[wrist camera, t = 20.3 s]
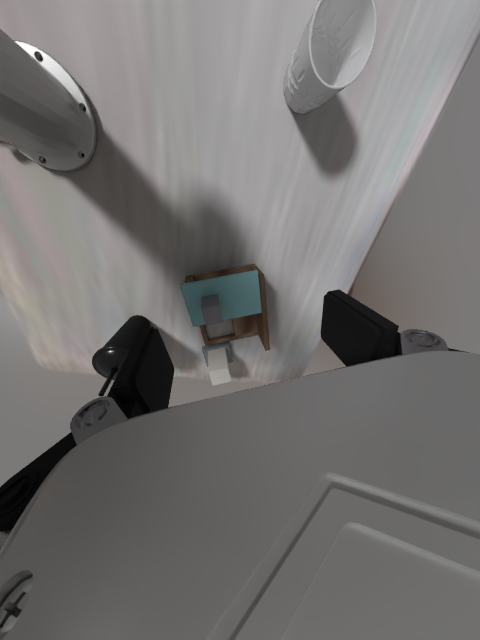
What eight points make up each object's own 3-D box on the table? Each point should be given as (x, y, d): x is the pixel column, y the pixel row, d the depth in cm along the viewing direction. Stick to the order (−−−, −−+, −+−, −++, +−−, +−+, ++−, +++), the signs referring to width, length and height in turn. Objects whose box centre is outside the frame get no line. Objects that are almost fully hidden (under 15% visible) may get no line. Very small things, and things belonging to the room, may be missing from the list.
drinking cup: (123, 305, 43) (70, 371, 26) (159, 314, 45) (133, 380, 28) (118, 333, 46) (69, 408, 29) (153, 340, 49) (126, 414, 32)
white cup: (324, 118, 33) (367, 87, 24) (278, 121, 32) (306, 90, 24) (331, 43, 29) (385, -25, 20) (279, 45, 28) (312, -25, 20)
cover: (193, 323, 39) (191, 341, 34) (180, 284, 35) (177, 297, 30) (260, 310, 40) (268, 325, 35) (256, 269, 36) (265, 280, 30)
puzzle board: (205, 342, 51) (205, 363, 45) (186, 276, 42) (182, 290, 35) (261, 331, 52) (269, 349, 46) (254, 263, 43) (264, 274, 36)
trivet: (207, 363, 55) (207, 367, 54) (202, 346, 52) (202, 350, 51) (232, 357, 55) (232, 361, 54) (228, 341, 52) (229, 344, 51)
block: (211, 363, 53) (212, 385, 47) (207, 351, 51) (208, 372, 45) (227, 360, 54) (231, 381, 47) (224, 347, 51) (227, 367, 45)
